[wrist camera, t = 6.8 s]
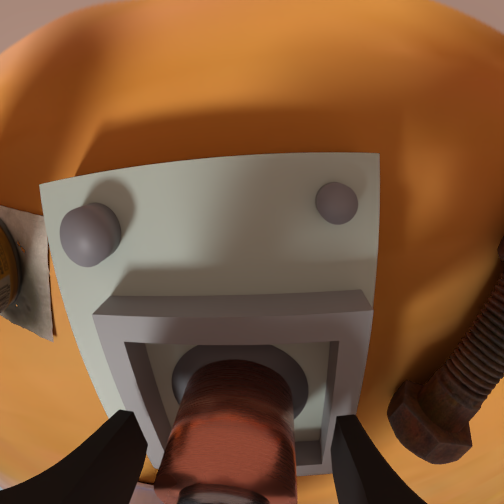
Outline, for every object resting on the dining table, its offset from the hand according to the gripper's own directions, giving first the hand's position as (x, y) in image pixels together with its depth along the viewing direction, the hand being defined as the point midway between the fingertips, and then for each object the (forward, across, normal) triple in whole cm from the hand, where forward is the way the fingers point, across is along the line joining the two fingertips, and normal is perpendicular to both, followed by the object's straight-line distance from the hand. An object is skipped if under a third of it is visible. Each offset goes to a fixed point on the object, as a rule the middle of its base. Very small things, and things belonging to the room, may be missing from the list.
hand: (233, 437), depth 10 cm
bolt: (+5, -13, -2) cm, 14 cm away
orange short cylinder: (+2, 0, 0) cm, 2 cm away
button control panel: (+5, +1, -2) cm, 5 cm away
